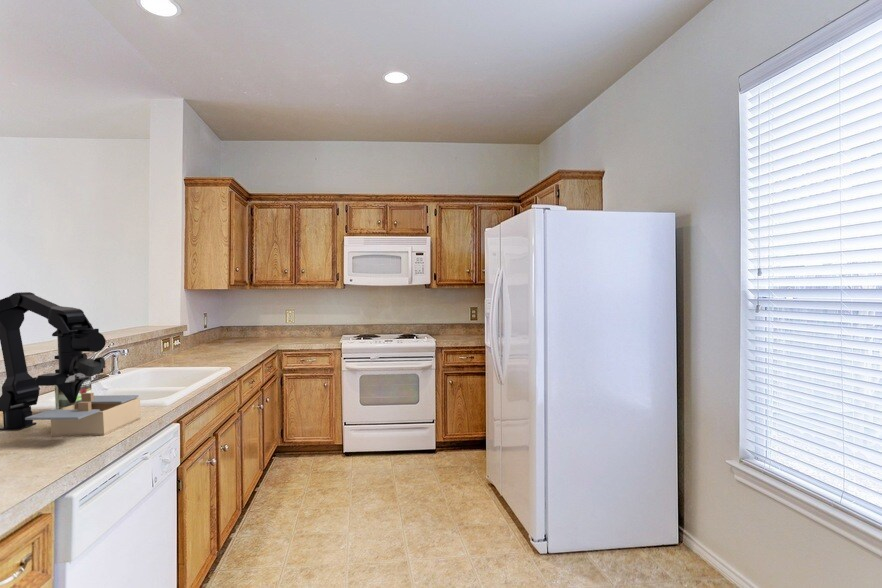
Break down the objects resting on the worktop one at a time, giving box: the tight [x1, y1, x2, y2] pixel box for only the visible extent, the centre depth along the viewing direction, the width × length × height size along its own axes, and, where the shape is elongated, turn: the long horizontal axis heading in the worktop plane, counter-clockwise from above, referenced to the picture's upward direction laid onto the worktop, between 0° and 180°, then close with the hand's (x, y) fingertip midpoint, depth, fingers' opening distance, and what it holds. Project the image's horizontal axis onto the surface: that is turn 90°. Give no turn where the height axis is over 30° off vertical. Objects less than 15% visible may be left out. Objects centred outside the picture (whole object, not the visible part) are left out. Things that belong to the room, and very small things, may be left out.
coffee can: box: [54, 375, 93, 410], centre depth 166 cm, size 10×10×14 cm
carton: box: [50, 397, 142, 437], centre depth 149 cm, size 16×16×7 cm
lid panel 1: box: [25, 402, 100, 421], centre depth 136 cm, size 15×8×3 cm, turn 87°
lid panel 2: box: [74, 392, 140, 404], centre depth 153 cm, size 15×8×3 cm, turn 87°
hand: (72, 402), depth 144 cm, fingers closed
